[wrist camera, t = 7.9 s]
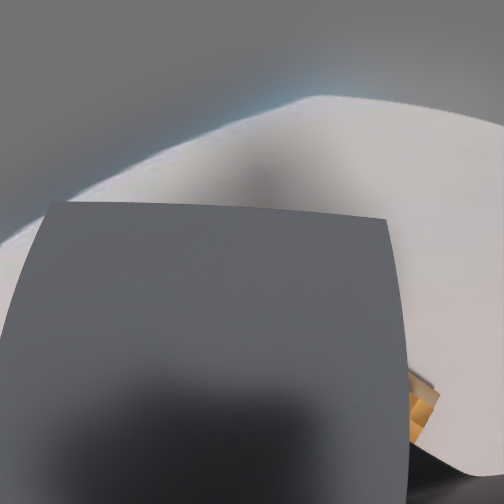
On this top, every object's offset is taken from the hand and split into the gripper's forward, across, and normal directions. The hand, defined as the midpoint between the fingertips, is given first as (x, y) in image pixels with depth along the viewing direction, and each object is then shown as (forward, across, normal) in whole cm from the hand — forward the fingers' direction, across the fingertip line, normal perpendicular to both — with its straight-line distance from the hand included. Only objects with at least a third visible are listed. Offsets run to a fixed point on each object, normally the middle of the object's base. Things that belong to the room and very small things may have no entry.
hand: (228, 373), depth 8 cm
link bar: (+4, 0, +6) cm, 7 cm away
